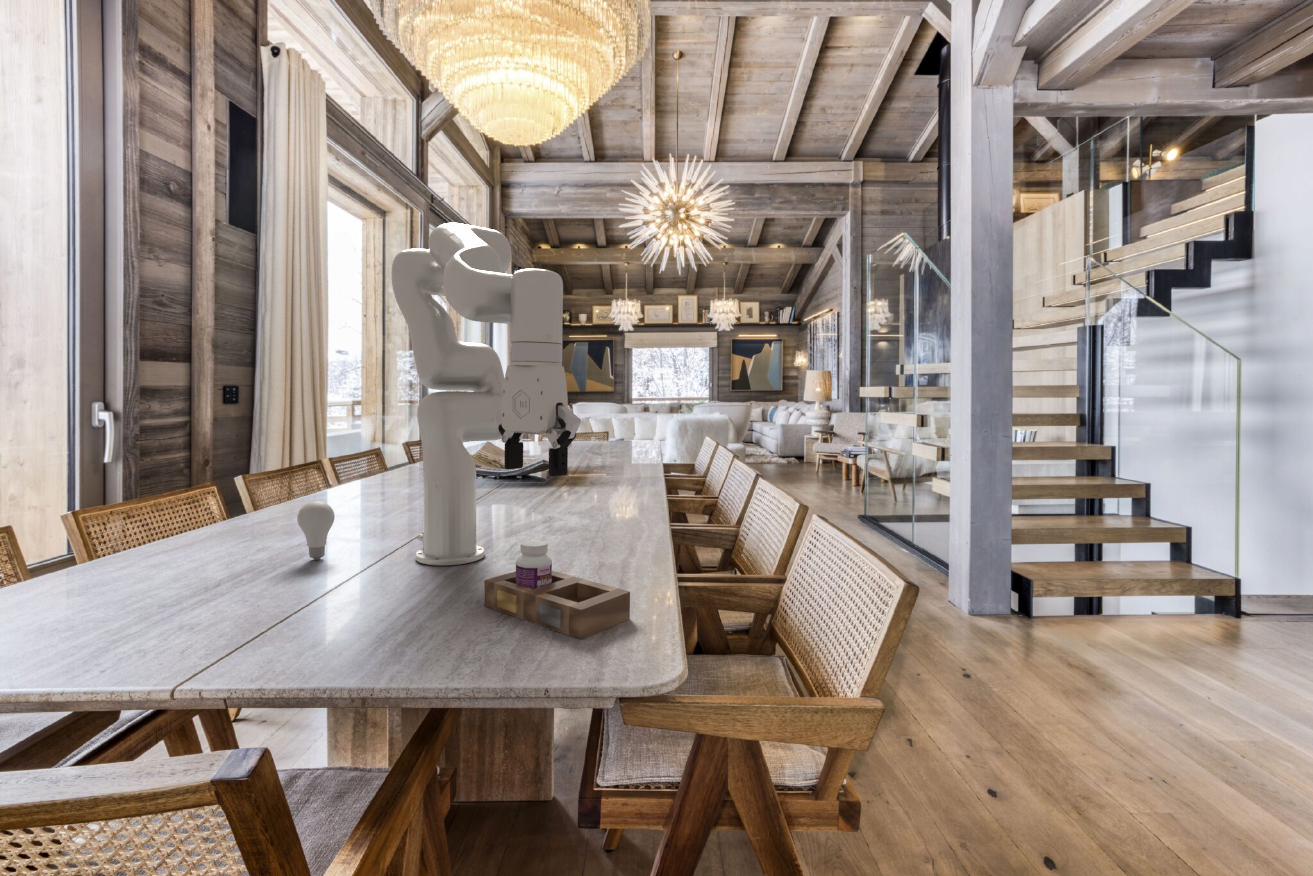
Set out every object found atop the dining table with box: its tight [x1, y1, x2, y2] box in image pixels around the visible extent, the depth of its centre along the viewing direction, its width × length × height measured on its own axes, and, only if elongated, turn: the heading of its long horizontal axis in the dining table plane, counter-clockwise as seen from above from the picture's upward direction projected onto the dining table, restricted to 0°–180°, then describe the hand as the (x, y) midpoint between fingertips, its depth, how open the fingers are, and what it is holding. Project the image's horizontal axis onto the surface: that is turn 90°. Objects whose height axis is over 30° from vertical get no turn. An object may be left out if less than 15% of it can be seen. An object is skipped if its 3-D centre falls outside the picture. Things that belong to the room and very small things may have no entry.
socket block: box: [483, 570, 631, 640], centre depth 95 cm, size 20×10×4 cm, turn 53°
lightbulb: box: [297, 500, 335, 561], centre depth 120 cm, size 6×6×11 cm
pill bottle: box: [515, 539, 553, 589], centre depth 97 cm, size 5×5×10 cm
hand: (535, 471), depth 97 cm, fingers open, 9 cm apart
